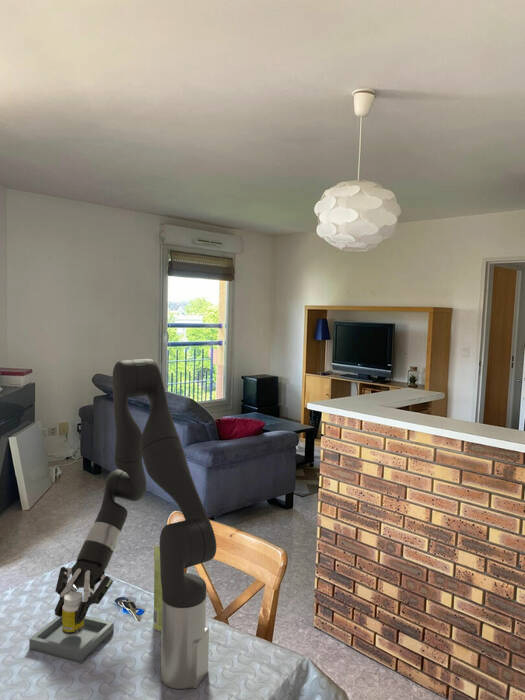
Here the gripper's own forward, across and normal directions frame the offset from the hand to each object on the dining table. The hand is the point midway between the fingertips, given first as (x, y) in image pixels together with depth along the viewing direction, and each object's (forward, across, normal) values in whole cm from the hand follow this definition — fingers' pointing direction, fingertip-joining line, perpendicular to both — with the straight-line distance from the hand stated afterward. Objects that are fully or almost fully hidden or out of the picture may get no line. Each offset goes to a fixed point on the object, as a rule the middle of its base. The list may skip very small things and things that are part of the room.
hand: (67, 617), depth 121 cm
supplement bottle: (+2, 0, +4) cm, 5 cm away
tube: (-5, +17, +15) cm, 23 cm away
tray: (+3, 0, +6) cm, 7 cm away
